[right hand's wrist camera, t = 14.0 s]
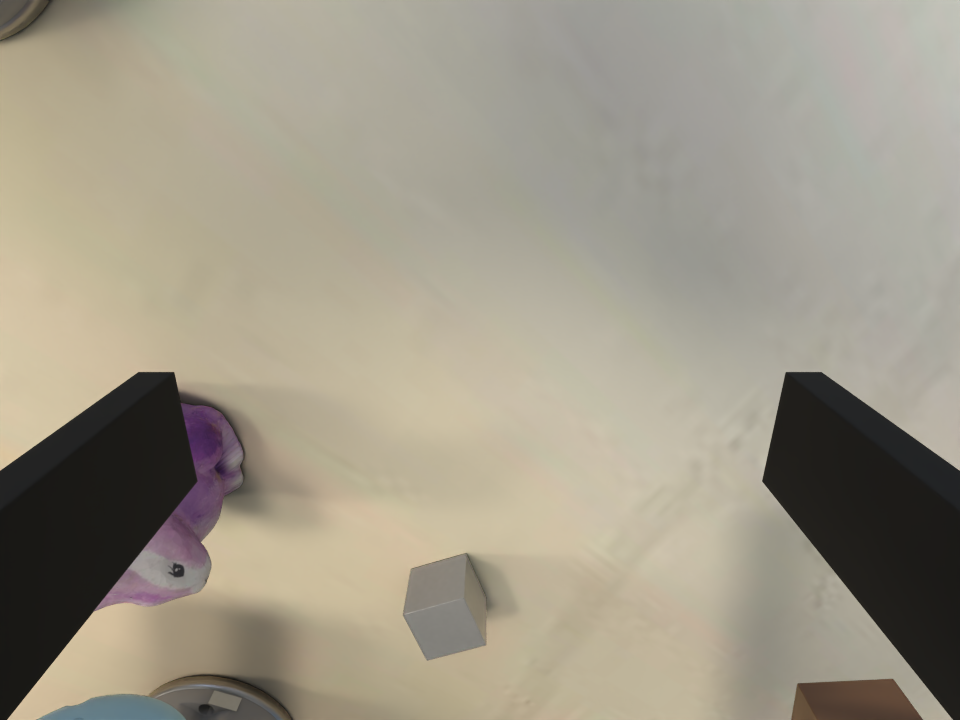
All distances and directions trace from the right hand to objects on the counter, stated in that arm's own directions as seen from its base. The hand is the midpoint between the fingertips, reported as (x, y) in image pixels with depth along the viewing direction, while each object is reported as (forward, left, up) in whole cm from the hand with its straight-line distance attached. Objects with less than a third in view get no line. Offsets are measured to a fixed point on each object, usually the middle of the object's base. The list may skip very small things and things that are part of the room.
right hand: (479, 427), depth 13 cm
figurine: (-22, -16, -28) cm, 39 cm away
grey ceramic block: (-3, -29, -28) cm, 40 cm away
